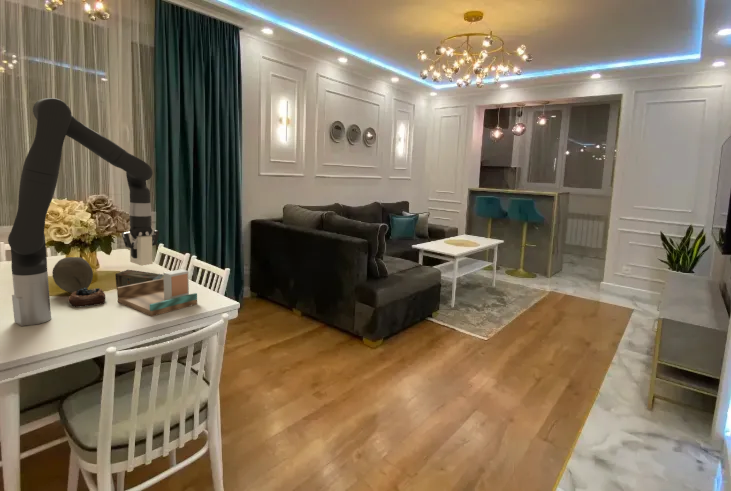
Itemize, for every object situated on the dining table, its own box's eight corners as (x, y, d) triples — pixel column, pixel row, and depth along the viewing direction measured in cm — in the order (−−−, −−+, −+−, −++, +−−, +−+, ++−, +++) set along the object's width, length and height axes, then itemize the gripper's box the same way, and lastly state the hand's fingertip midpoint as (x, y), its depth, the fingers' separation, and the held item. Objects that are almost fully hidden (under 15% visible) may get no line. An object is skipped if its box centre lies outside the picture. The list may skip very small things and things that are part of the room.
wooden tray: (151, 316, 152) (151, 300, 151) (117, 301, 164) (117, 287, 163) (197, 304, 168) (197, 289, 167) (163, 291, 180) (162, 278, 179)
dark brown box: (153, 291, 180) (152, 277, 179) (114, 286, 184) (113, 272, 182) (165, 286, 188) (164, 272, 187) (128, 282, 191) (127, 268, 190)
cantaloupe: (100, 287, 180) (98, 254, 178) (83, 297, 167) (81, 261, 164) (65, 287, 178) (62, 253, 176) (45, 297, 165) (42, 260, 162)
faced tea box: (171, 301, 163) (170, 274, 161) (164, 299, 165) (163, 272, 163) (189, 297, 169) (188, 271, 167) (182, 294, 172) (181, 269, 170)
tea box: (153, 263, 163) (152, 236, 161) (141, 265, 159) (140, 237, 157) (141, 260, 167) (141, 233, 165) (130, 261, 163) (129, 234, 161)
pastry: (107, 304, 162) (106, 290, 161) (70, 309, 154) (69, 294, 153) (103, 296, 170) (102, 282, 169) (67, 301, 163) (66, 286, 162)
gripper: (126, 216, 152) (128, 261, 155) (163, 214, 164) (164, 256, 167) (116, 214, 156) (117, 258, 159) (152, 212, 168) (153, 253, 171)
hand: (141, 256), depth 163 cm, fingers closed on tea box, 4 cm apart
